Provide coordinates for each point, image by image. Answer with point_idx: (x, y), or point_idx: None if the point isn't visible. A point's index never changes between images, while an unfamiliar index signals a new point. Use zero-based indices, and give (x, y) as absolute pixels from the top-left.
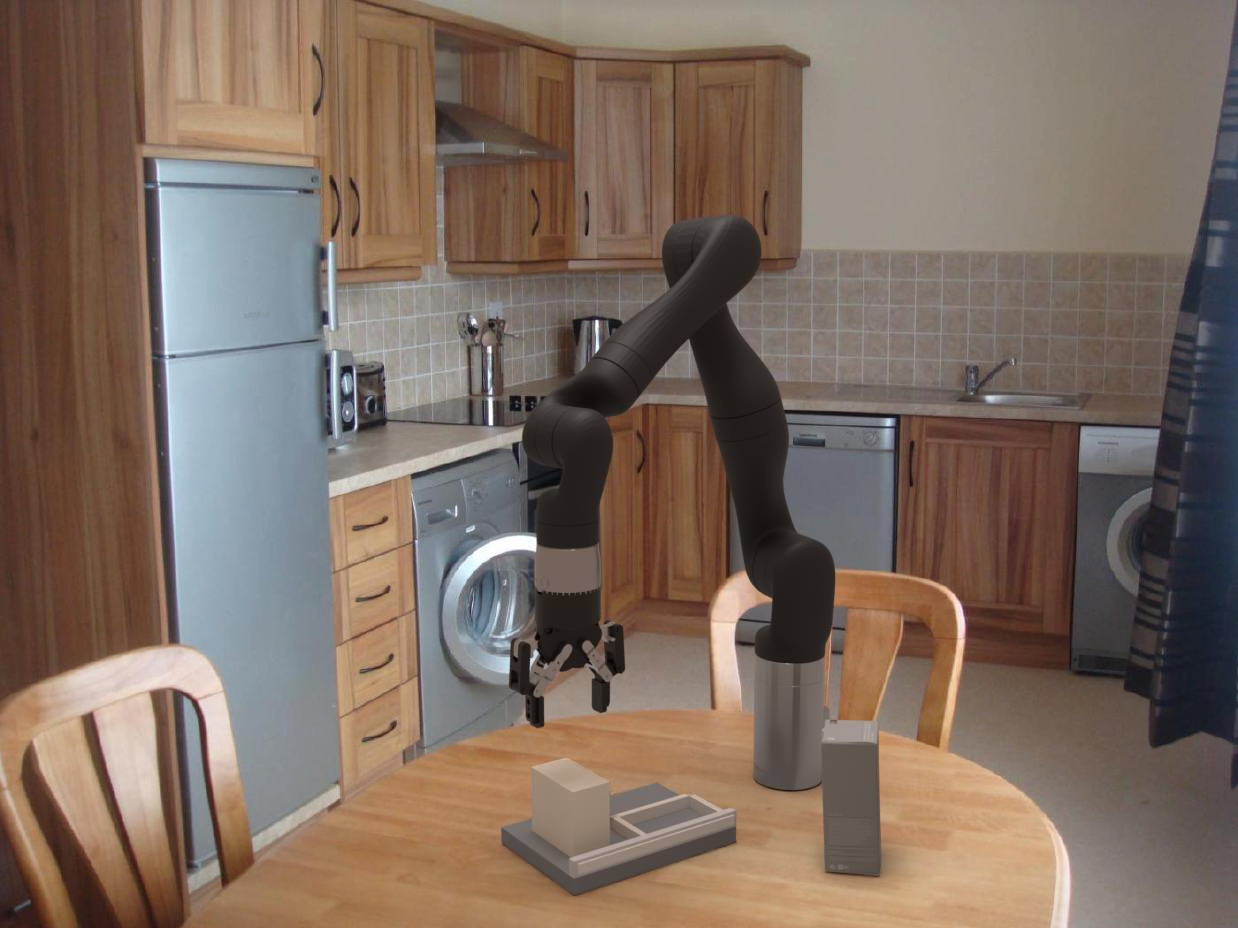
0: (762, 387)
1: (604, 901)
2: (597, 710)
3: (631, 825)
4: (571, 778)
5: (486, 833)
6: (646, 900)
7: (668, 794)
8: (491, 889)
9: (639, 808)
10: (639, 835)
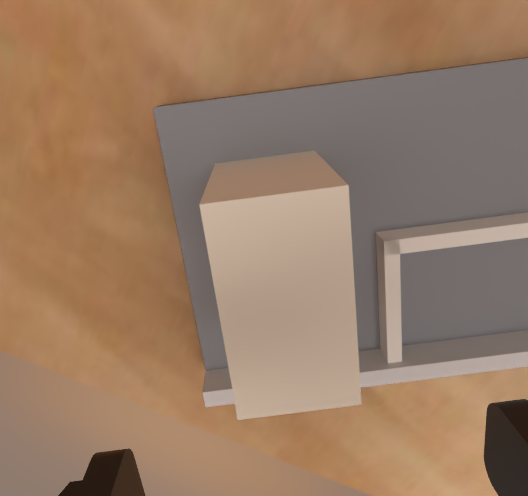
0: None
1: None
2: (488, 442)
3: (398, 302)
4: (277, 342)
5: (143, 35)
6: (309, 420)
7: None
8: (80, 285)
9: (466, 235)
10: (386, 343)
